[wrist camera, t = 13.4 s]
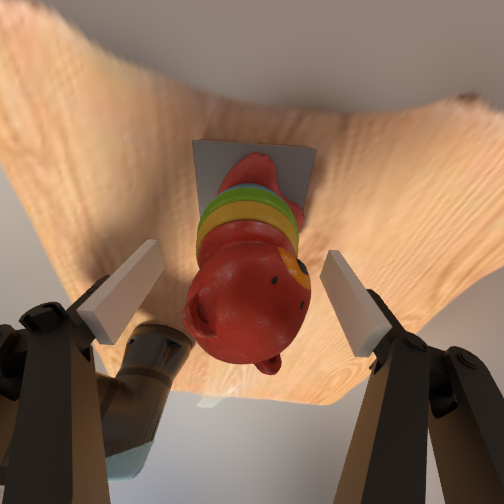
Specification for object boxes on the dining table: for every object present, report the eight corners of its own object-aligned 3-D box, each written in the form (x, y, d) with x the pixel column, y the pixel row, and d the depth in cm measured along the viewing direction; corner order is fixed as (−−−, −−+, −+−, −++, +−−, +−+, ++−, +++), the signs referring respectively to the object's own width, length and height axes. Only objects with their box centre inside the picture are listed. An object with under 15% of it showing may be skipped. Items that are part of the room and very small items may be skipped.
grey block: (209, 238, 30) (203, 252, 27) (201, 139, 22) (192, 140, 19) (288, 243, 30) (292, 258, 27) (307, 146, 23) (316, 149, 19)
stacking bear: (309, 221, 24) (394, 373, 9) (246, 257, 27) (232, 410, 12) (262, 142, 19) (278, 186, 4) (193, 198, 22) (68, 331, 8)
